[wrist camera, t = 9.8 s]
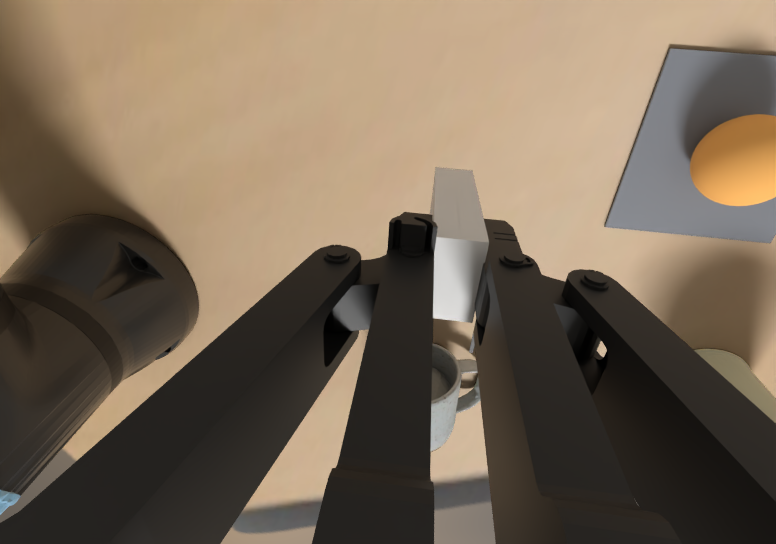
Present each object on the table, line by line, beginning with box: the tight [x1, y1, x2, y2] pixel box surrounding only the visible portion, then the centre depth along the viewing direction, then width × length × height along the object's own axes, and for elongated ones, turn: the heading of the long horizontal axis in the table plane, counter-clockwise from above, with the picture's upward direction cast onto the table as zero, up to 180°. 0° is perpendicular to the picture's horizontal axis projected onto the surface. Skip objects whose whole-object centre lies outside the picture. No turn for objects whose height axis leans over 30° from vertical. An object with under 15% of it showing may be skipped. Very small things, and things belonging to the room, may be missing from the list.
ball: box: [690, 114, 776, 206], centre depth 25 cm, size 6×6×6 cm
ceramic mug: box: [431, 344, 481, 452], centre depth 38 cm, size 11×8×8 cm
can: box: [694, 349, 776, 423], centre depth 33 cm, size 9×9×12 cm
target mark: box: [605, 48, 776, 243], centre depth 28 cm, size 12×12×1 cm
